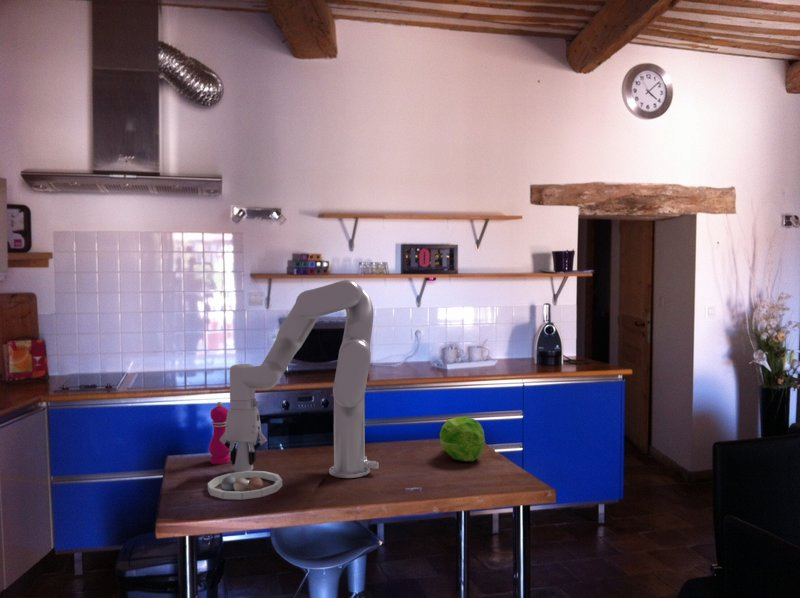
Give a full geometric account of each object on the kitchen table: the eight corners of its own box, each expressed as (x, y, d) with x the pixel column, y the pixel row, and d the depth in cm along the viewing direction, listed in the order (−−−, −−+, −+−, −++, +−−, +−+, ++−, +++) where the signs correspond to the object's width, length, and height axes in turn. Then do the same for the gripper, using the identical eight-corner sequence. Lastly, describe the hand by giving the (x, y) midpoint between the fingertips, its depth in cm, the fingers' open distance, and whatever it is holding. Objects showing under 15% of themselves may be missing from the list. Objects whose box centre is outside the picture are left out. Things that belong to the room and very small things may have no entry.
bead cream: (247, 495, 180) (251, 482, 183) (244, 488, 178) (247, 475, 181) (233, 495, 181) (237, 482, 184) (230, 487, 178) (234, 474, 181)
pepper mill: (236, 460, 217) (235, 400, 216) (221, 465, 210) (221, 404, 210) (219, 457, 220) (218, 399, 219) (204, 463, 213) (203, 402, 213)
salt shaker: (255, 473, 202) (255, 431, 202) (249, 478, 197) (249, 435, 196) (237, 472, 203) (237, 431, 203) (231, 478, 197) (230, 435, 197)
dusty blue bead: (236, 491, 183) (236, 477, 185) (235, 489, 180) (235, 474, 182) (222, 492, 183) (222, 478, 184) (220, 490, 179) (220, 475, 181)
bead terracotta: (263, 494, 181) (267, 479, 183) (255, 491, 178) (259, 476, 180) (251, 491, 183) (255, 477, 185) (243, 489, 180) (247, 474, 181)
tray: (289, 482, 193) (289, 472, 193) (268, 505, 173) (268, 493, 173) (224, 480, 195) (224, 470, 195) (196, 502, 175) (196, 491, 175)
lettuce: (428, 457, 228) (470, 461, 231) (444, 460, 207) (490, 464, 209) (432, 415, 231) (473, 419, 234) (447, 413, 210) (492, 417, 212)
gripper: (273, 402, 202) (273, 460, 203) (220, 402, 204) (221, 459, 204) (265, 407, 195) (266, 467, 195) (211, 406, 197) (211, 466, 197)
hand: (243, 462), depth 200 cm, fingers open, 4 cm apart
